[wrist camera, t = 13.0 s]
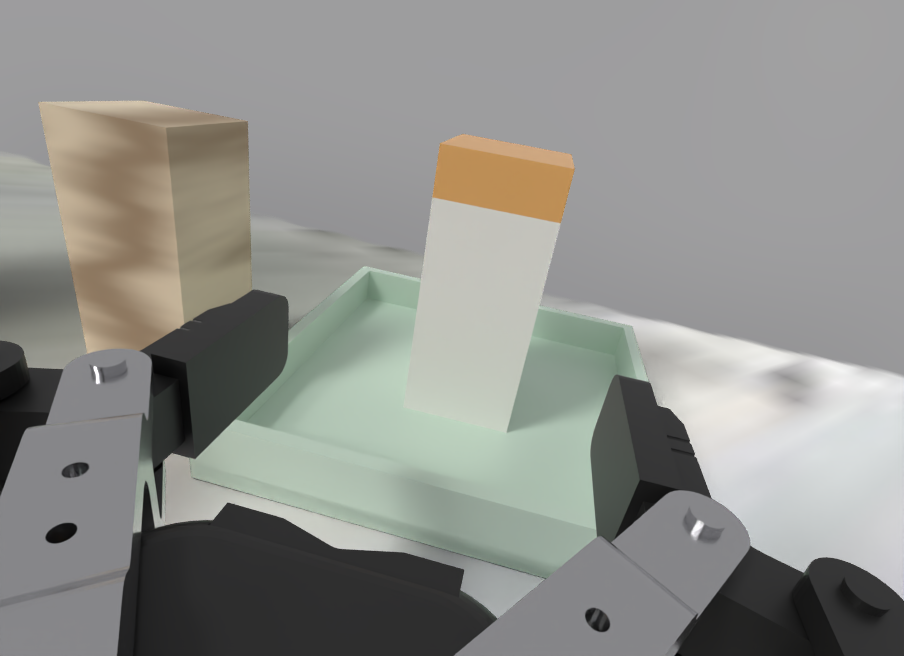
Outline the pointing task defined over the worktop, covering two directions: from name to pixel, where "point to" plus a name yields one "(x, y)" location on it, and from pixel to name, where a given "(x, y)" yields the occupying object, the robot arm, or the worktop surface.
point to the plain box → (149, 214)
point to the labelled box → (483, 276)
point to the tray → (428, 432)
